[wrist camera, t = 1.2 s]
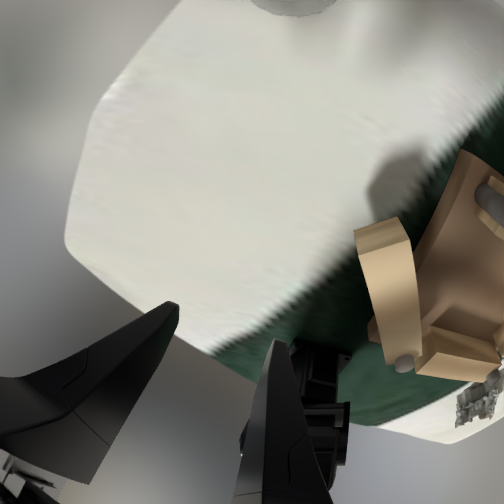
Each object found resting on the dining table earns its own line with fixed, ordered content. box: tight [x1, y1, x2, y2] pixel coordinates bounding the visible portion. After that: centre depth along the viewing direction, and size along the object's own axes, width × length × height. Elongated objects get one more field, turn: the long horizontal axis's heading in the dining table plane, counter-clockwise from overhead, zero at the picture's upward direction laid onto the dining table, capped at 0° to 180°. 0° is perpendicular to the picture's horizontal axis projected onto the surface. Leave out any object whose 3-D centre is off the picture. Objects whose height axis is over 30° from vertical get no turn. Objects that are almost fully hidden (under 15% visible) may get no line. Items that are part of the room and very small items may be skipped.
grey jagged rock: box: [455, 380, 498, 428], centre depth 24 cm, size 11×8×4 cm
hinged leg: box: [354, 217, 422, 373], centre depth 16 cm, size 11×3×4 cm, turn 27°
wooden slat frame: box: [367, 149, 504, 385], centre depth 15 cm, size 17×17×6 cm
